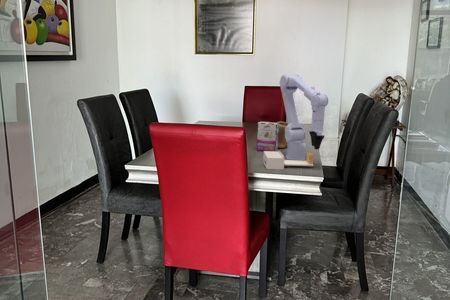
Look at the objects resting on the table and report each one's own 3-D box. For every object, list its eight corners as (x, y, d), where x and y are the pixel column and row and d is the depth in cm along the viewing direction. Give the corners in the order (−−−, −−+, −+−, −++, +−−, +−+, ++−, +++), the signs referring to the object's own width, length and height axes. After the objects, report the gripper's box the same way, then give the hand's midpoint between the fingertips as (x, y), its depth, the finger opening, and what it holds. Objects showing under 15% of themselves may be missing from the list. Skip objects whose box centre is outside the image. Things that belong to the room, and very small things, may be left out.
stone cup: (288, 150, 231) (290, 124, 228) (268, 148, 235) (269, 122, 231) (291, 145, 245) (293, 121, 242) (272, 143, 249) (274, 119, 245)
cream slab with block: (309, 161, 200) (310, 152, 199) (313, 166, 192) (314, 155, 191) (281, 161, 199) (282, 151, 198) (284, 165, 192) (285, 155, 190)
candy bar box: (277, 151, 227) (279, 122, 224) (275, 153, 223) (277, 123, 219) (258, 149, 231) (260, 121, 227) (256, 150, 226) (257, 122, 223)
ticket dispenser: (279, 162, 203) (279, 150, 201) (284, 169, 189) (284, 157, 188) (262, 161, 202) (263, 150, 201) (266, 169, 189) (267, 156, 187)
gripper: (307, 117, 200) (304, 144, 203) (311, 121, 185) (309, 150, 188) (321, 118, 199) (319, 144, 202) (327, 122, 185) (324, 151, 188)
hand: (315, 147), depth 195 cm, fingers open, 7 cm apart
